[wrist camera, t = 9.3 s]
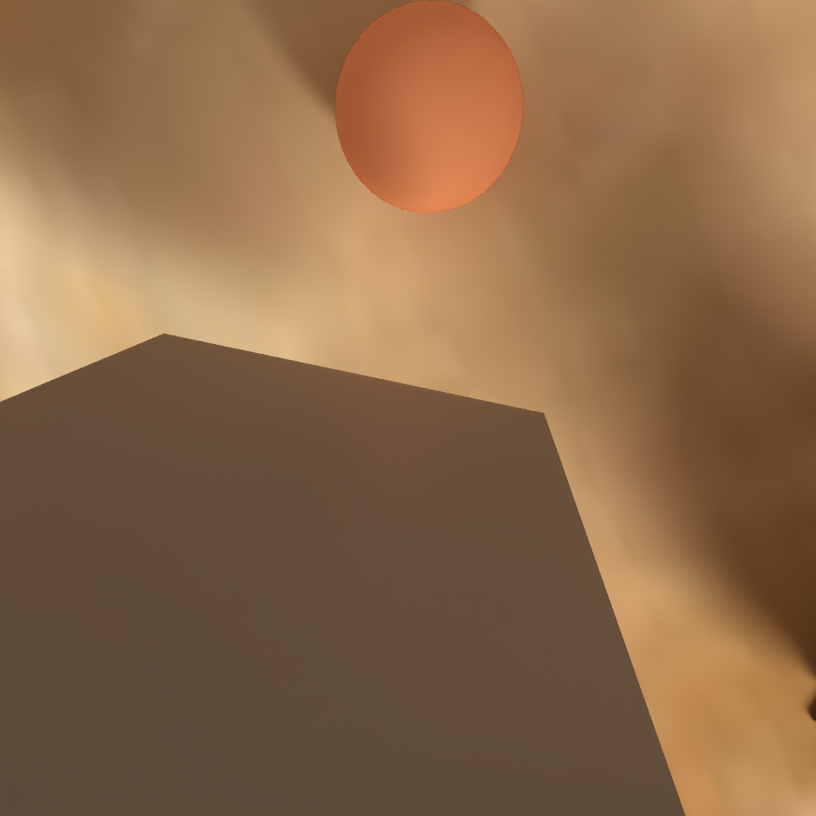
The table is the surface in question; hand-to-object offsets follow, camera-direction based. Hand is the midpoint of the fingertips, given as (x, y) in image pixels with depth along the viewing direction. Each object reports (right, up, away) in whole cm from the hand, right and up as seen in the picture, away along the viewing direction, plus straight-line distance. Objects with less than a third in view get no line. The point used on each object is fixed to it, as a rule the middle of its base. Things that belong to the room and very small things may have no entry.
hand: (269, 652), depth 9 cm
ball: (+3, +12, +6) cm, 14 cm away
